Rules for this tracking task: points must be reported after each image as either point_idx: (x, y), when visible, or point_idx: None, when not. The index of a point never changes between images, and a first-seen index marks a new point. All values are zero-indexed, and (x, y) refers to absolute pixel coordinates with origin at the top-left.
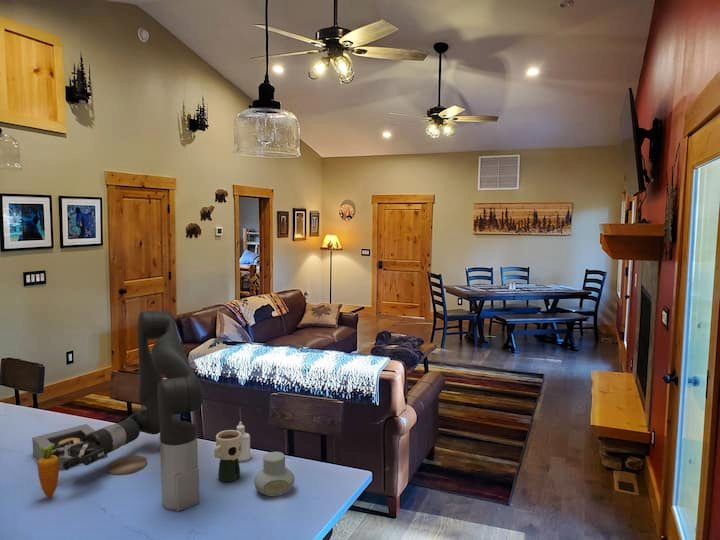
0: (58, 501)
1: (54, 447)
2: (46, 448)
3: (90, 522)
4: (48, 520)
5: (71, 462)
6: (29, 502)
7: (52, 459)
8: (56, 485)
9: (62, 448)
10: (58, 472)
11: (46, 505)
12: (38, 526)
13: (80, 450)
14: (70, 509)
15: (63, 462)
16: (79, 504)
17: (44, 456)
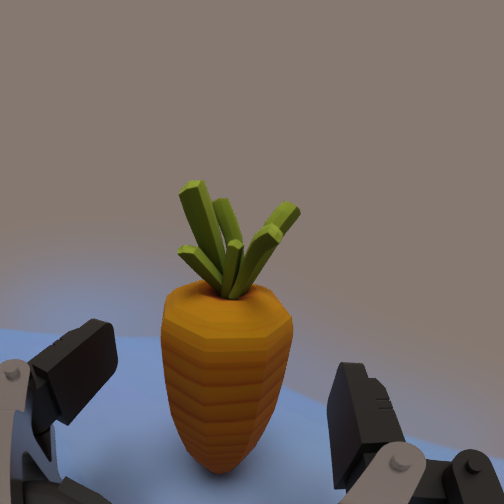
0: (158, 454)
1: (465, 460)
2: (213, 201)
3: (15, 355)
4: (121, 369)
5: (63, 336)
6: (271, 434)
7: (178, 290)
8: (185, 446)
9: (365, 499)
10: (169, 403)
11: None
12: (133, 353)
13: (10, 414)
14: (82, 409)
15: (111, 324)
16: (64, 432)
17: (238, 272)
